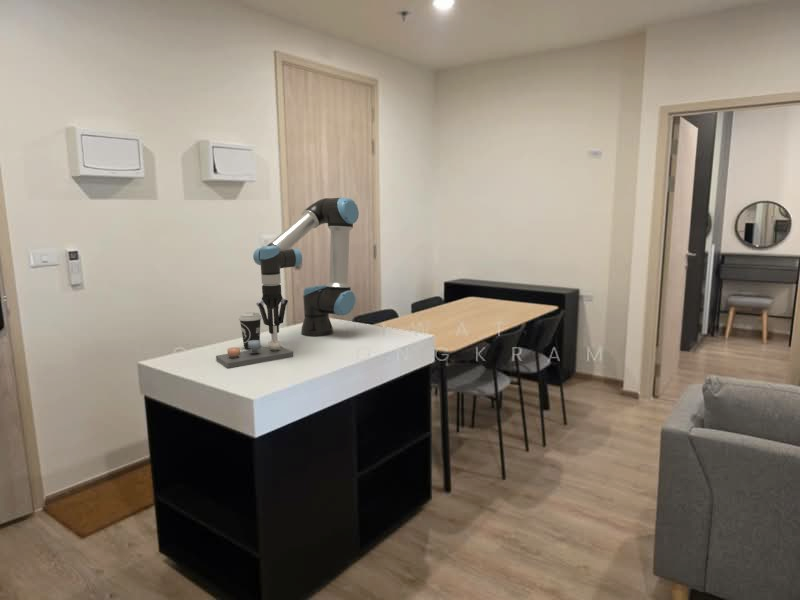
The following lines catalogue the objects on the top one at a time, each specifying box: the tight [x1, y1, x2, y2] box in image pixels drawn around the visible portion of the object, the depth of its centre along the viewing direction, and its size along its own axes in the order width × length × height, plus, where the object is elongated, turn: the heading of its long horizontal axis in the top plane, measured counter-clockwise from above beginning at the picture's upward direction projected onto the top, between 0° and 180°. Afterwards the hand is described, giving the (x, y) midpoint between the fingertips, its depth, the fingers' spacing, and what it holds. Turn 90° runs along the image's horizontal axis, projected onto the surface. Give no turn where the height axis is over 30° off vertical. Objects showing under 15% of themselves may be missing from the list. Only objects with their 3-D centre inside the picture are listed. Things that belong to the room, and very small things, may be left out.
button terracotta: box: [226, 346, 241, 359], centre depth 215 cm, size 5×5×4 cm
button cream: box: [267, 340, 281, 352], centre depth 224 cm, size 5×5×4 cm
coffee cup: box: [238, 311, 262, 351], centre depth 236 cm, size 10×10×15 cm
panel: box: [215, 345, 294, 369], centre depth 220 cm, size 27×14×2 cm, turn 126°
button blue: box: [248, 339, 262, 352], centre depth 219 cm, size 5×5×4 cm
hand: (274, 340), depth 224 cm, fingers closed
